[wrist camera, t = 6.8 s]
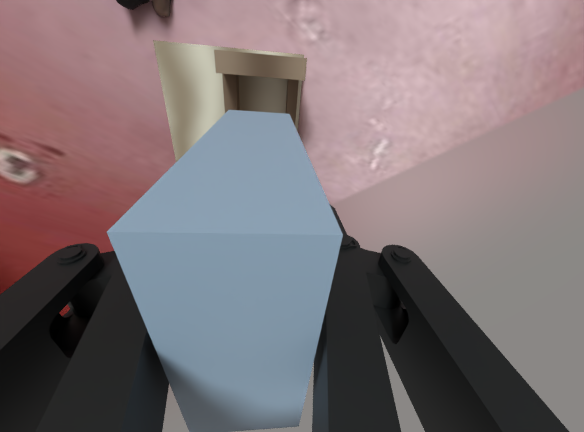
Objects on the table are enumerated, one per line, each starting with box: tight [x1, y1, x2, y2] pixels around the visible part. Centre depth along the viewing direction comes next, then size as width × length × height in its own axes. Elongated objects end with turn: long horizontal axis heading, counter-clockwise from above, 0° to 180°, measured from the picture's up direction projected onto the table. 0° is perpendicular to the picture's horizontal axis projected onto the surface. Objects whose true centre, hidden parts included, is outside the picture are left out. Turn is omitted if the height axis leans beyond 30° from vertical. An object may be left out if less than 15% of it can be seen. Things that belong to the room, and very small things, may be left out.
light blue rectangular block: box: [107, 110, 343, 432], centre depth 11 cm, size 8×4×12 cm, turn 176°
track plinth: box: [153, 40, 307, 162], centre depth 24 cm, size 14×15×8 cm
